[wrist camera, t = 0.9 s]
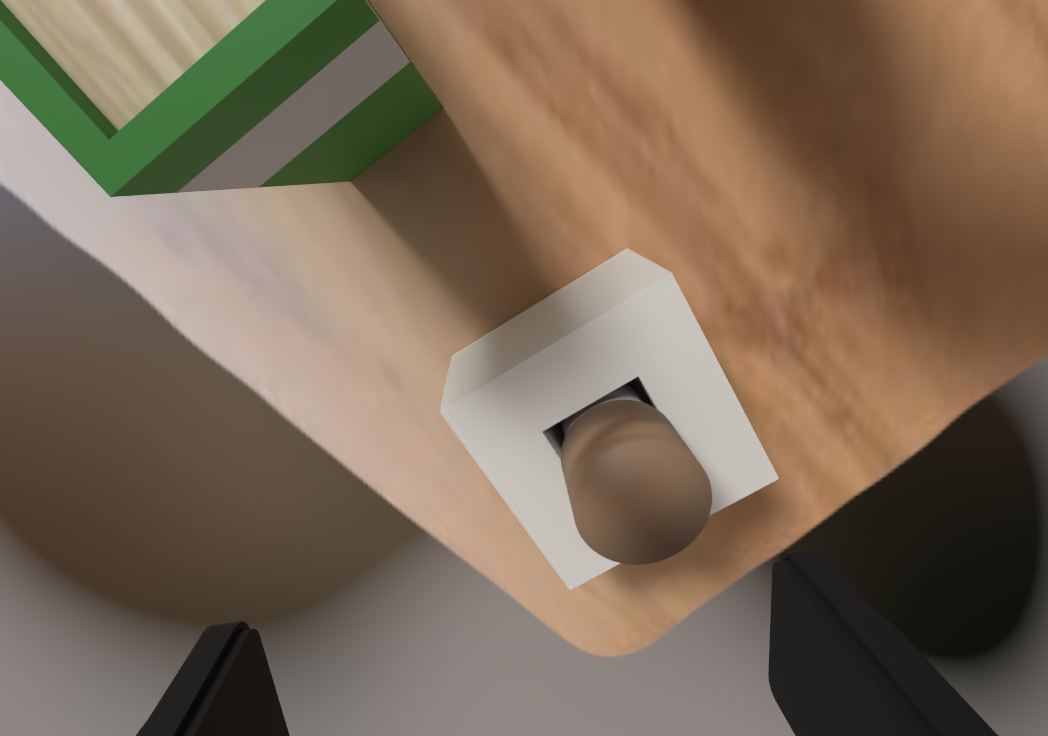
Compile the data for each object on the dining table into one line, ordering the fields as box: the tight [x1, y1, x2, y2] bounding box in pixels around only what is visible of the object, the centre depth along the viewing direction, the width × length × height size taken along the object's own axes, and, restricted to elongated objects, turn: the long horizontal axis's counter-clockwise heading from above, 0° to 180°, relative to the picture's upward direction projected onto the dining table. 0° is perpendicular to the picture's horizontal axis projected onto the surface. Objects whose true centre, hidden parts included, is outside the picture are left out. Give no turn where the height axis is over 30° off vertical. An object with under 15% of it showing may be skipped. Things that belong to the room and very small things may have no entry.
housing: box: [440, 248, 779, 590], centre depth 37 cm, size 14×14×10 cm
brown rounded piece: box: [560, 381, 712, 564], centre depth 33 cm, size 6×6×15 cm
